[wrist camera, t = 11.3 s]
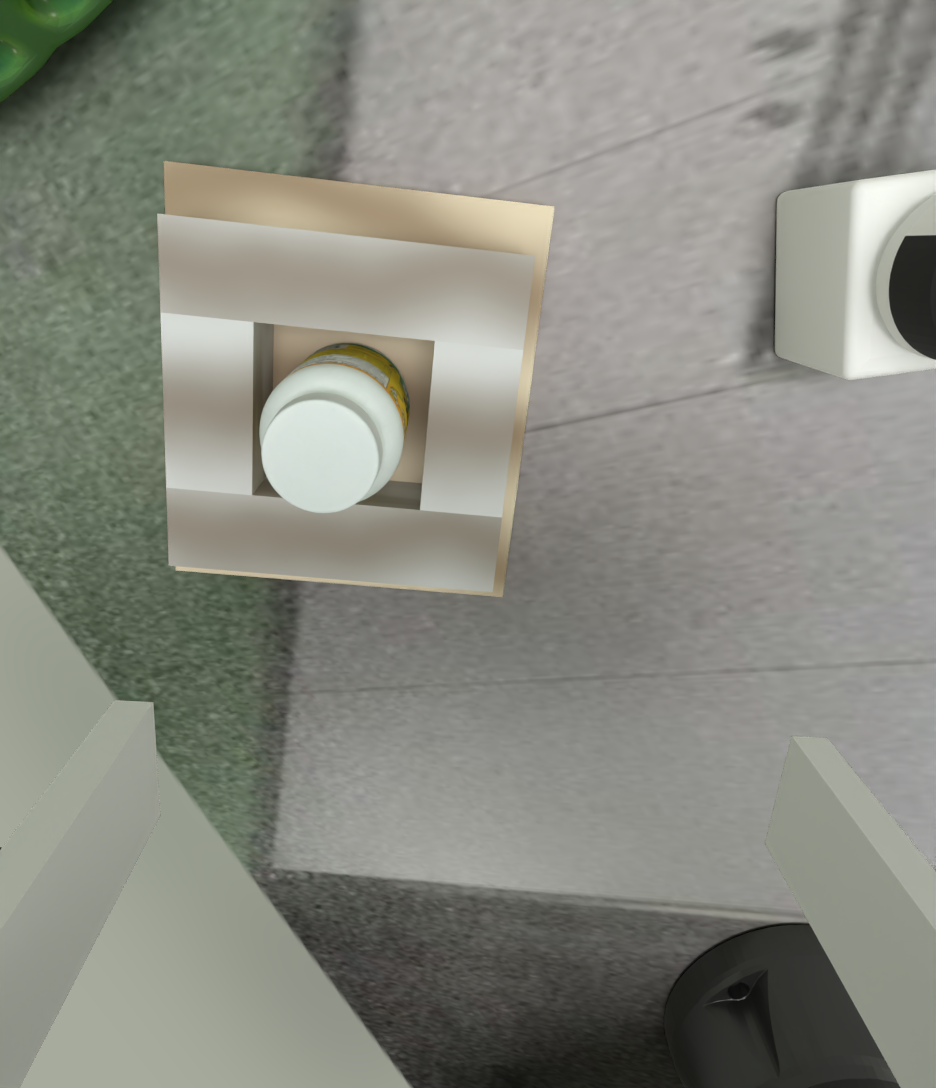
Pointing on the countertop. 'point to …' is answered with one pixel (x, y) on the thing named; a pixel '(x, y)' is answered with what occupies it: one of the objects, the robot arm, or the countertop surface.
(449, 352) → the block
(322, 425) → the supplement bottle
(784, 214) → the medicine bottle
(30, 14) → the piggy bank
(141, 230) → the countertop surface
